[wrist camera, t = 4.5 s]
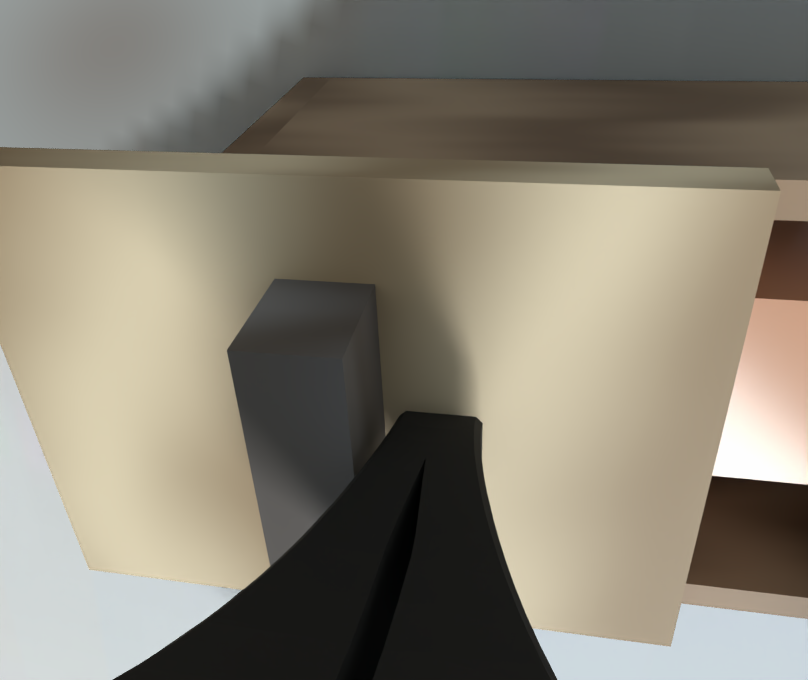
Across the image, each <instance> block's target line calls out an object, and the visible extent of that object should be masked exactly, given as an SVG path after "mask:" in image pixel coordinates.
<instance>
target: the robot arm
mask: <svg viewBox="0 0 808 680" xmlns="http://www.w3.org/2000/svg"><path fill="white" fill-rule="evenodd" d="M482 432H483V423H482V422H481V421H480V420H479V419H478V418H477V417H473V416H462V415H450V414H438V413H426V412H415V411H405V412H404V413H402V414H401V415H400V416H399V417H398V419H397V420H396V422H395V423H394V425H393V426H392V428H391V429H390V431H389V432H388V434H387V435H386V437H385V438H384V439H383V441H382V442H381V444H380V445H379V446H378V448H377V449H376V450H375V452H374V453H373V454H372V456H371V457H370V458H369V460H368V461H367V462H366V464H365V465H364V466H363V467H362V469H361V470H360V471H359V472H358V474H357V475H356V476H355V477H354V478H353V480H352V481H351V482H350V483H349V485H348V486H347V487H346V488H345V489H344V491H343V492H342V493H341V494H340V495H339V497H338V498H337V499H336V500H335V501H334V502H333V503H332V505H331V506H330V507H329V508H328V509H327V510H326V511H325V512H324V513H323V514H322V515H321V516H320V517H319V519H318V520H317V521H316V522H315V523H314V524H313V525H312V526H311V527H310V528H309V529H308V530H307V532H306V533H305V534H304V535H303V536H302V537H301V538H300V539H299V540H298V541H297V542H296V543H295V544H294V545H293V546H292V547H291V548H289V549H288V550H287V551H286V552H285V553H284V554H283V555H282V556H281V557H280V558H279V559H278V560H277V561H276V562H274V563H273V564H272V565H271V566H270V567H269V568H268V569H267V570H266V571H265V572H263V573H262V574H261V575H260V576H259V577H258V578H256V579H255V580H254V581H253V582H252V583H250V584H249V585H248V586H247V587H246V588H244V589H243V590H242V591H241V592H239V593H238V594H237V595H236V596H235V597H233V598H232V599H231V600H230V601H229V602H227V603H226V604H225V605H223V606H222V607H221V608H220V609H218V610H217V611H216V612H214V613H213V614H212V615H210V616H209V617H208V618H206V619H205V620H204V621H202V622H201V623H199V624H198V625H196V626H195V627H194V628H192V629H191V630H189V631H188V632H186V633H185V634H183V635H182V636H180V637H179V638H178V639H176V640H175V641H173V642H172V643H170V644H169V645H167V646H166V647H165V648H163V649H162V650H160V651H159V652H157V653H156V654H154V655H153V656H151V657H150V658H148V659H147V660H145V661H143V662H142V663H140V664H139V665H137V666H135V667H134V668H132V669H130V670H128V671H127V672H125V673H123V674H122V675H120V676H118V677H116V678H115V679H113V680H557V678H556V676H555V674H554V672H553V670H552V668H551V666H550V664H549V662H548V660H547V658H546V656H545V654H544V652H543V650H542V648H541V646H540V644H539V642H538V640H537V638H536V636H535V633H534V631H533V629H532V626H531V624H530V622H529V620H528V617H527V615H526V613H525V610H524V608H523V605H522V603H521V600H520V598H519V595H518V593H517V590H516V588H515V585H514V582H513V580H512V577H511V574H510V571H509V568H508V566H507V563H506V560H505V556H504V553H503V550H502V547H501V544H500V541H499V537H498V534H497V530H496V527H495V523H494V520H493V515H492V511H491V507H490V502H489V498H488V494H487V489H486V484H485V479H484V472H483V465H482Z"/></svg>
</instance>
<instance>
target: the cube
mask: <svg viewBox="0 0 808 680" xmlns="http://www.w3.org/2000/svg"><path fill="white" fill-rule="evenodd" d="M712 476H722V477H733V478H743V479H754V480H764V481H775V482H785V483H795V484H806V485H808V221H787V220H774V222H773V226H772V230H771V234H770V238H769V243H768V247H767V251H766V255H765V259H764V263H763V267H762V271H761V276H760V280H759V284H758V288H757V292H756V296H755V300H754V304H753V309H752V313H751V317H750V321H749V325H748V329H747V333H746V337H745V342H744V346H743V350H742V354H741V358H740V362H739V366H738V370H737V375H736V379H735V383H734V387H733V391H732V395H731V399H730V403H729V408H728V412H727V416H726V420H725V424H724V428H723V432H722V436H721V440H720V445H719V449H718V453H717V457H716V461H715V465H714V469H713V473H712Z"/></svg>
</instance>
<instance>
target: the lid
mask: <svg viewBox="0 0 808 680" xmlns="http://www.w3.org/2000/svg"><path fill="white" fill-rule="evenodd" d="M780 193H781V190H780V188H779V186H778V185H777V183H776V181H775V179H774V177H773V176H772V174H771V172H770V170H769V168H749V167H712V166H675V165H638V164H601V163H564V162H527V161H490V160H453V159H416V158H379V157H342V156H305V155H268V154H231V153H194V152H157V151H120V150H83V149H44V148H7V147H0V344H1V347H2V349H3V352H4V355H5V357H6V360H7V362H8V365H9V367H10V370H11V372H12V375H13V377H14V380H15V382H16V385H17V388H18V390H19V393H20V395H21V398H22V400H23V403H24V405H25V408H26V410H27V413H28V415H29V418H30V420H31V423H32V426H33V428H34V431H35V433H36V436H37V438H38V441H39V443H40V446H41V448H42V451H43V453H44V456H45V459H46V461H47V464H48V466H49V469H50V471H51V474H52V476H53V479H54V481H55V484H56V486H57V489H58V492H59V494H60V497H61V499H62V502H63V504H64V507H65V509H66V512H67V514H68V517H69V519H70V522H71V525H72V527H73V530H74V532H75V535H76V537H77V540H78V542H79V545H80V547H81V550H82V552H83V555H84V558H85V560H86V563H87V565H88V568H89V570H96V571H104V572H111V573H119V574H126V575H134V576H141V577H149V578H157V579H164V580H172V581H179V582H187V583H194V584H202V585H209V586H217V587H225V588H232V589H240V590H243V589H244V588H246V587H247V586H248V585H249V584H250V583H252V582H253V581H254V580H255V579H256V578H258V577H259V576H260V575H261V574H262V573H263V572H265V571H266V570H267V569H268V568H269V567H270V566H271V565H272V564H273V563H274V562H276V561H277V560H278V559H279V558H280V557H281V556H282V555H283V554H284V553H285V552H286V551H287V550H288V549H289V548H291V547H292V546H293V545H294V544H295V543H296V542H297V541H298V540H299V539H300V538H301V537H302V536H303V535H304V534H305V533H306V532H307V530H308V529H309V528H310V527H311V526H312V525H313V524H314V523H315V522H316V521H317V520H318V519H319V517H320V516H321V515H322V514H323V513H324V512H325V511H326V510H327V509H328V508H329V507H330V506H331V505H332V503H333V502H334V501H335V500H336V499H337V498H338V497H339V495H340V494H341V493H342V492H343V491H344V489H345V488H346V487H347V486H348V485H349V483H350V482H351V481H352V480H353V478H354V477H355V476H356V475H357V474H358V472H359V471H360V470H361V469H362V467H363V466H364V465H365V464H366V462H367V461H368V460H369V458H370V457H371V456H372V454H373V453H374V452H375V450H376V449H377V448H378V446H379V445H380V444H381V442H382V441H383V439H384V438H385V437H386V435H387V434H388V432H389V431H390V429H391V428H392V426H393V425H394V423H395V422H396V420H397V419H398V417H399V416H400V415H401V414H402V413H404V412H405V411H415V412H426V413H438V414H450V415H462V416H473V417H477V418H478V419H479V420H480V421H481V422H482V423H483V432H482V465H483V472H484V479H485V484H486V489H487V494H488V498H489V502H490V507H491V511H492V515H493V520H494V523H495V527H496V530H497V534H498V537H499V541H500V544H501V547H502V550H503V553H504V556H505V560H506V563H507V566H508V568H509V571H510V574H511V577H512V580H513V582H514V585H515V588H516V590H517V593H518V595H519V598H520V600H521V603H522V605H523V608H524V610H525V613H526V615H527V617H528V620H529V622H530V624H531V626H532V628H535V629H542V630H550V631H557V632H565V633H572V634H580V635H587V636H595V637H603V638H610V639H618V640H625V641H633V642H640V643H648V644H655V645H663V646H671V643H672V638H673V634H674V630H675V626H676V622H677V618H678V614H679V610H680V605H681V601H682V597H683V593H684V589H685V585H686V581H687V577H688V572H689V568H690V564H691V560H692V556H693V552H694V548H695V544H696V539H697V535H698V531H699V527H700V523H701V519H702V515H703V511H704V506H705V502H706V498H707V494H708V490H709V486H710V482H711V478H712V473H713V469H714V465H715V461H716V457H717V453H718V449H719V445H720V440H721V436H722V432H723V428H724V424H725V420H726V416H727V412H728V408H729V403H730V399H731V395H732V391H733V387H734V383H735V379H736V375H737V370H738V366H739V362H740V358H741V354H742V350H743V346H744V342H745V337H746V333H747V329H748V325H749V321H750V317H751V313H752V309H753V304H754V300H755V296H756V292H757V288H758V284H759V280H760V276H761V271H762V267H763V263H764V259H765V255H766V251H767V247H768V243H769V238H770V234H771V230H772V226H773V222H774V218H775V214H776V210H777V205H778V201H779V197H780Z"/></svg>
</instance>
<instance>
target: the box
mask: <svg viewBox="0 0 808 680" xmlns="http://www.w3.org/2000/svg"><path fill="white" fill-rule="evenodd" d="M222 153H231V154H268V155H305V156H342V157H379V158H416V159H453V160H490V161H527V162H564V163H601V164H638V165H675V166H712V167H749V168H769V170H770V172H771V174H772V176H773V177H774V179H775V181H776V183H777V185H778V186H779V188H780V190H781V193H780V197H779V201H778V205H777V210H776V214H775V218H774V220H787V221H808V82H767V81H650V80H532V79H415V78H303V79H302V80H301V81H299V82H298V83H297V84H296V85H295V86H294V87H293V88H292V89H291V90H290V91H289V92H287V93H286V94H285V95H284V96H283V97H282V98H281V99H280V100H279V101H278V102H277V103H276V104H274V105H273V106H272V107H271V108H270V109H269V110H268V111H267V112H266V113H265V114H264V115H263V116H261V117H260V118H259V119H258V120H257V121H256V122H255V123H254V124H253V125H252V126H251V127H250V128H248V129H247V130H246V131H245V132H244V133H243V134H242V135H241V136H240V137H239V138H238V139H237V140H235V141H234V142H233V143H232V144H231V145H230V146H229V147H228V148H227V149H226V150H225V151H223V152H222ZM681 603H683V604H691V605H699V606H707V607H715V608H724V609H732V610H740V611H748V612H756V613H764V614H773V615H781V616H789V617H797V618H805V619H808V485H806V484H795V483H785V482H775V481H764V480H754V479H743V478H733V477H722V476H712V478H711V482H710V486H709V490H708V494H707V498H706V502H705V506H704V511H703V515H702V519H701V523H700V527H699V531H698V535H697V539H696V544H695V548H694V552H693V556H692V560H691V564H690V568H689V572H688V577H687V581H686V585H685V589H684V593H683V597H682V601H681Z"/></svg>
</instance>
